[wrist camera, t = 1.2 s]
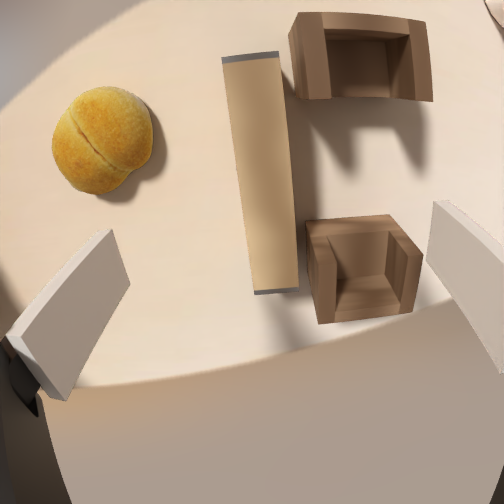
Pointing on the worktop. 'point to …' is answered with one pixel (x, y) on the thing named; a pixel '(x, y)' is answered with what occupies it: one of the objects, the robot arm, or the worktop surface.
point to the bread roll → (102, 139)
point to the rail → (263, 168)
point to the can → (496, 10)
